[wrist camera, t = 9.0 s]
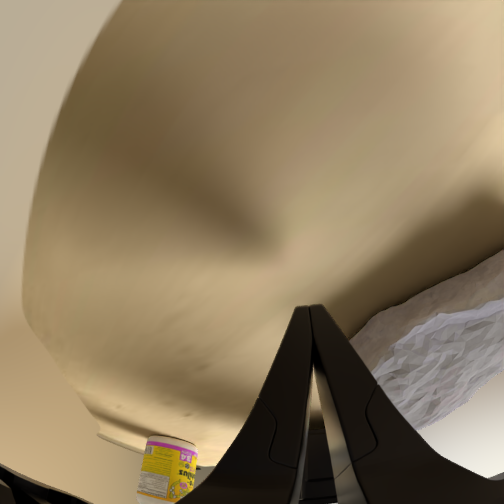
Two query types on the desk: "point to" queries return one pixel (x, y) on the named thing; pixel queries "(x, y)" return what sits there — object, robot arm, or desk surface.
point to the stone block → (438, 343)
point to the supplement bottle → (166, 470)
